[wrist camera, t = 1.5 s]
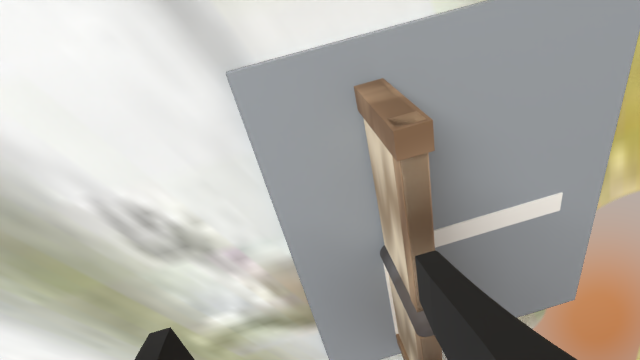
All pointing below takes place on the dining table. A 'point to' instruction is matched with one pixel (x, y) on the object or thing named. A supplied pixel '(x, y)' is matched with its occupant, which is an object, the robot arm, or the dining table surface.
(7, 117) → the dining table surface
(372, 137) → the post
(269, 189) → the card
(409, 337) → the fixed fence section
